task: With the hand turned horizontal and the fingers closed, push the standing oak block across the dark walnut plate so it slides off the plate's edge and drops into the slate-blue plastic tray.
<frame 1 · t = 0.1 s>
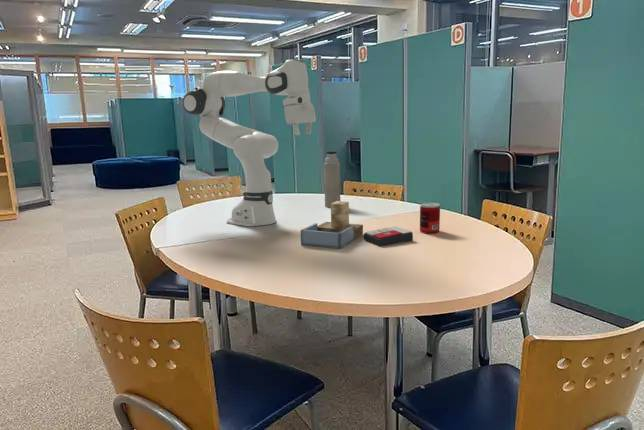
hand: (303, 134, 205), 39 cm above the table, tool pointing down, fingers open, 8 cm apart
thermos bottle: (332, 206, 256), on the table
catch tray: (327, 242, 186), on the table
walnut plate: (339, 235, 196), on the table
canned food: (429, 231, 199), on the table
calculator: (388, 241, 187), on the table
oak block: (340, 225, 196), point 4 cm above the table, touching walnut plate
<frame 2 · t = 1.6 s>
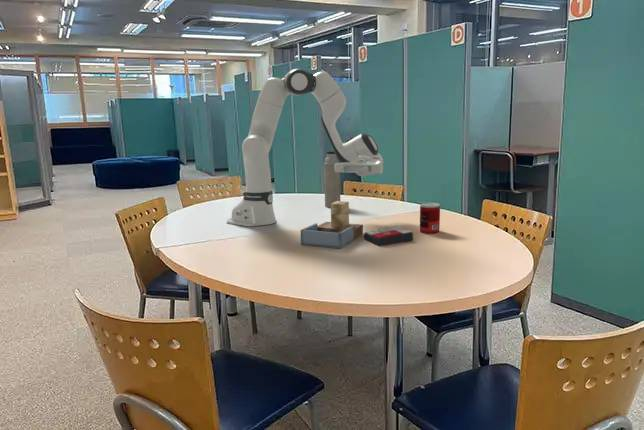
hand: (351, 169, 202), 24 cm above the table, tool horizontal, fingers open, 7 cm apart
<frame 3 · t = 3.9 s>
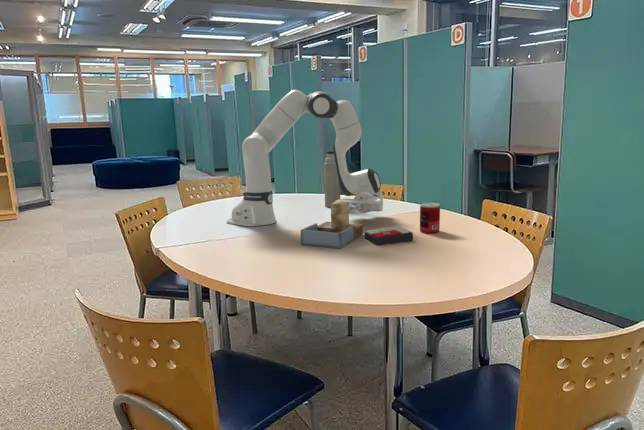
hand: (351, 208, 205), 9 cm above the table, tool horizontal, fingers closed
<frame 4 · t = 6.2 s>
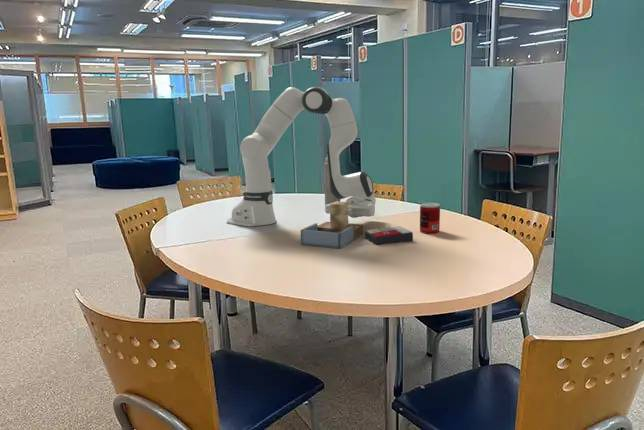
hand: (342, 213, 197), 8 cm above the table, tool horizontal, fingers closed
oak block: (339, 225, 195), point 4 cm above the table
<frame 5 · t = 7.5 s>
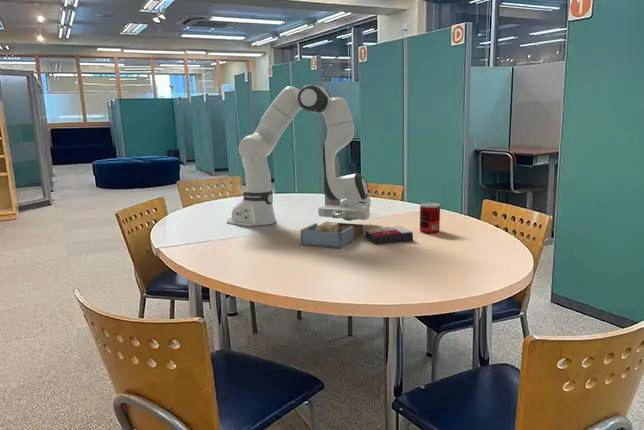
hand: (335, 216, 191), 8 cm above the table, tool horizontal, fingers closed
oak block: (332, 230, 189), point 4 cm above the table, tilted 90°, touching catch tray
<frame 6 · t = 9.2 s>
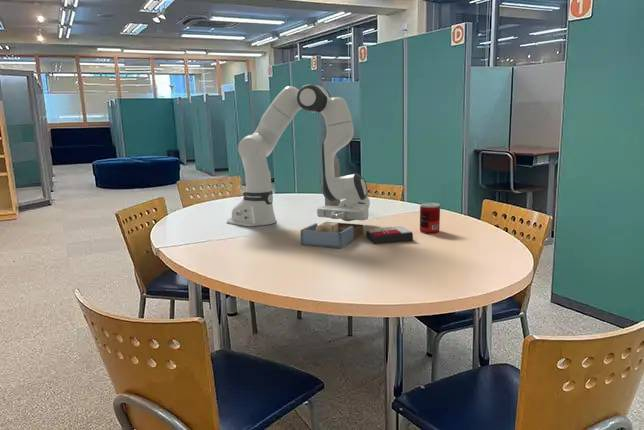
hand: (334, 216, 190), 9 cm above the table, tool horizontal, fingers closed
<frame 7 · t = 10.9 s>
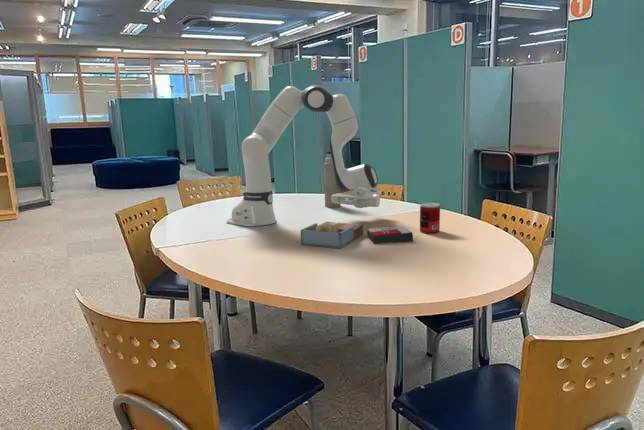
hand: (348, 202, 203), 11 cm above the table, tool horizontal, fingers closed
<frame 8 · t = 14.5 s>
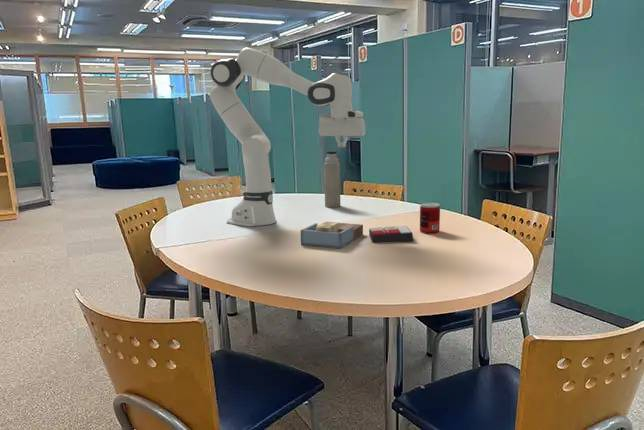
hand: (341, 147, 209), 33 cm above the table, tool pointing down, fingers closed
at the end: oak block inside the target area (4.7 cm from its centre), point 3.8 cm above the table; oak block moved 7.6 cm from its start; the gripper is holding nothing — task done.
